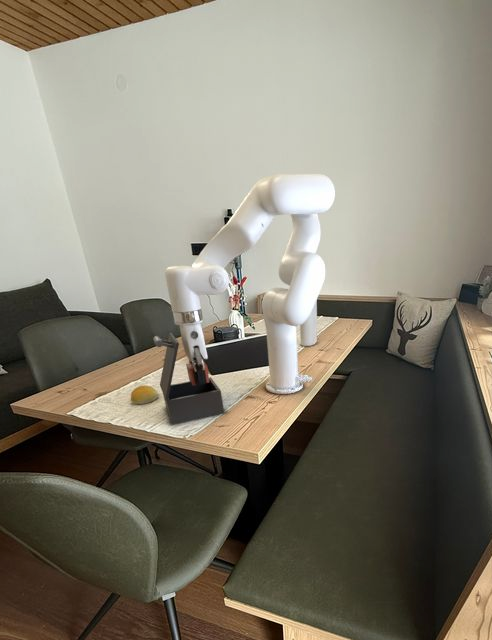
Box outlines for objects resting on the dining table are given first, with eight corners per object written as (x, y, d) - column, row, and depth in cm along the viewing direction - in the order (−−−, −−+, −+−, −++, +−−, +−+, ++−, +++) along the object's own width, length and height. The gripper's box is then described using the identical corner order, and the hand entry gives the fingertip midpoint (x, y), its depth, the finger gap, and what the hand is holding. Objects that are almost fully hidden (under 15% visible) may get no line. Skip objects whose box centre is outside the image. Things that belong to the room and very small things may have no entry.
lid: (172, 333, 102) (153, 328, 99) (179, 343, 92) (158, 338, 89) (162, 385, 107) (143, 382, 104) (167, 400, 97) (148, 397, 95)
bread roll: (131, 407, 112) (128, 395, 110) (132, 396, 120) (129, 385, 118) (159, 402, 115) (156, 390, 113) (158, 392, 122) (155, 381, 120)
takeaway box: (214, 398, 116) (210, 377, 112) (224, 413, 106) (220, 390, 103) (166, 408, 111) (161, 386, 107) (172, 424, 101) (166, 401, 97)
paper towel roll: (299, 346, 163) (298, 296, 152) (301, 342, 168) (300, 294, 157) (315, 346, 162) (315, 296, 151) (316, 342, 167) (316, 294, 156)
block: (189, 380, 106) (186, 363, 104) (205, 377, 108) (203, 361, 105) (192, 385, 102) (189, 368, 100) (209, 382, 104) (207, 365, 101)
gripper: (209, 321, 90) (219, 387, 99) (195, 310, 104) (205, 369, 113) (179, 324, 88) (192, 393, 97) (169, 313, 101) (181, 373, 110)
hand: (199, 379), depth 105 cm, fingers closed on block, 5 cm apart
